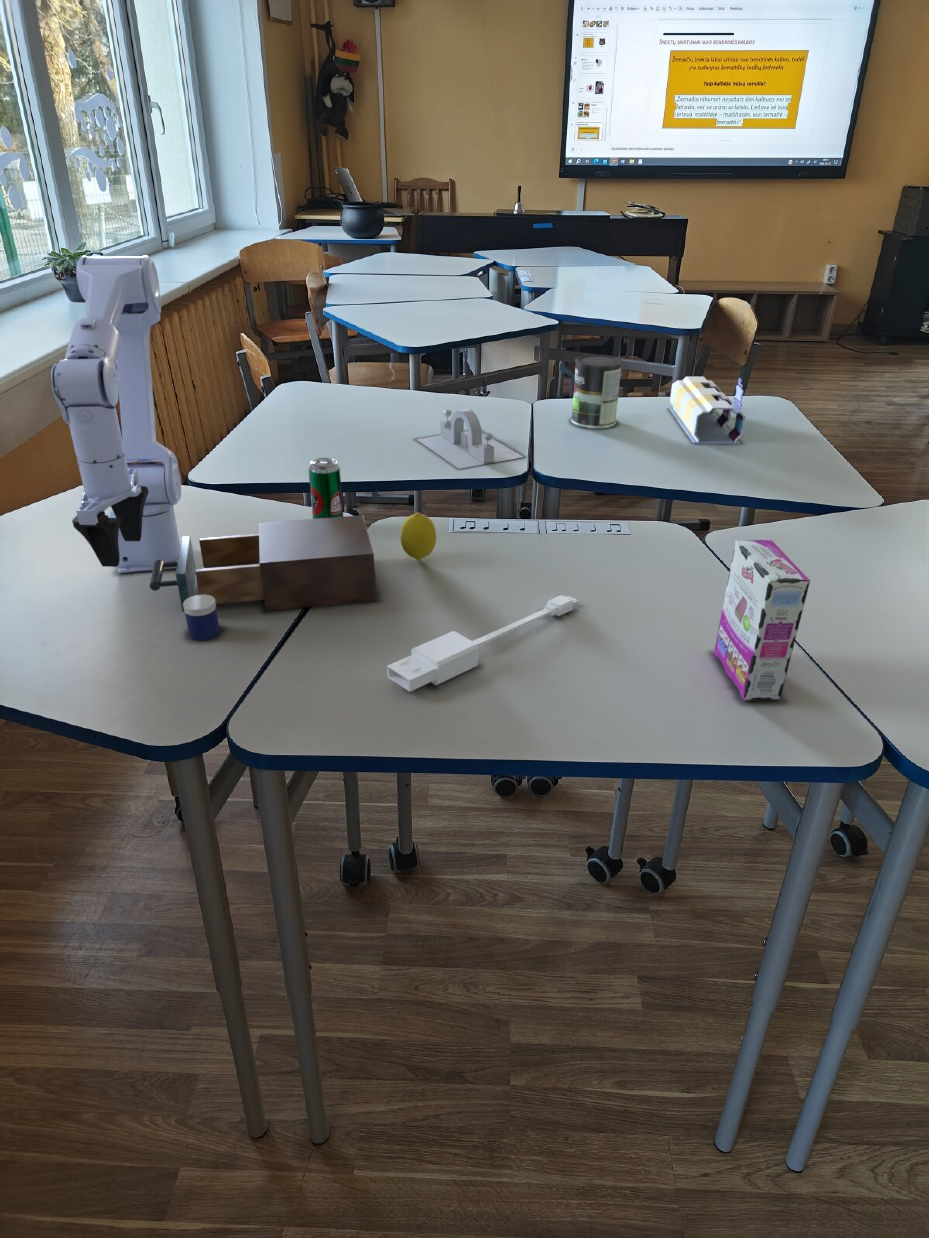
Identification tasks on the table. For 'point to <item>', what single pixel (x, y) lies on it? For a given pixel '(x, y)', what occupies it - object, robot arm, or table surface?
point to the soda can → (325, 488)
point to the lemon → (418, 536)
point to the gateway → (467, 442)
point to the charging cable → (458, 651)
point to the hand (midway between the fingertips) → (122, 552)
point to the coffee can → (596, 391)
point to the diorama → (706, 411)
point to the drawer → (216, 569)
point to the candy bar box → (760, 619)
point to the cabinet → (316, 562)
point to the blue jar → (201, 617)
